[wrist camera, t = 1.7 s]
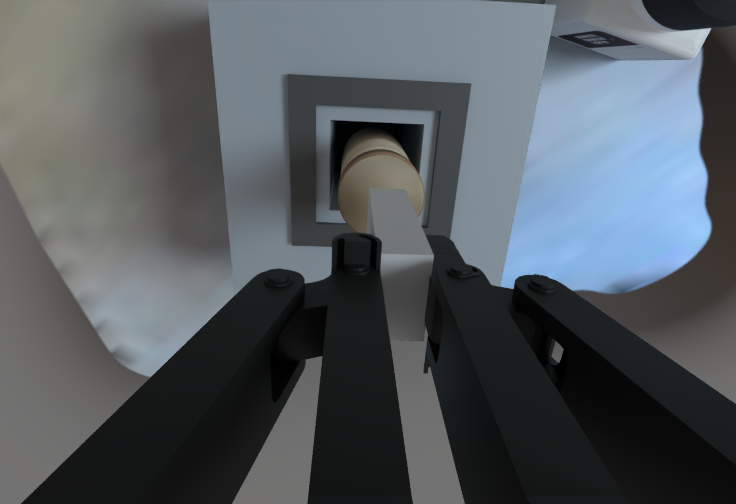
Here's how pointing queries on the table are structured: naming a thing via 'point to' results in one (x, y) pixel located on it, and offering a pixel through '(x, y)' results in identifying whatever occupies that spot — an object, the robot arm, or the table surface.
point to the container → (641, 26)
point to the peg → (374, 174)
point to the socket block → (372, 117)
